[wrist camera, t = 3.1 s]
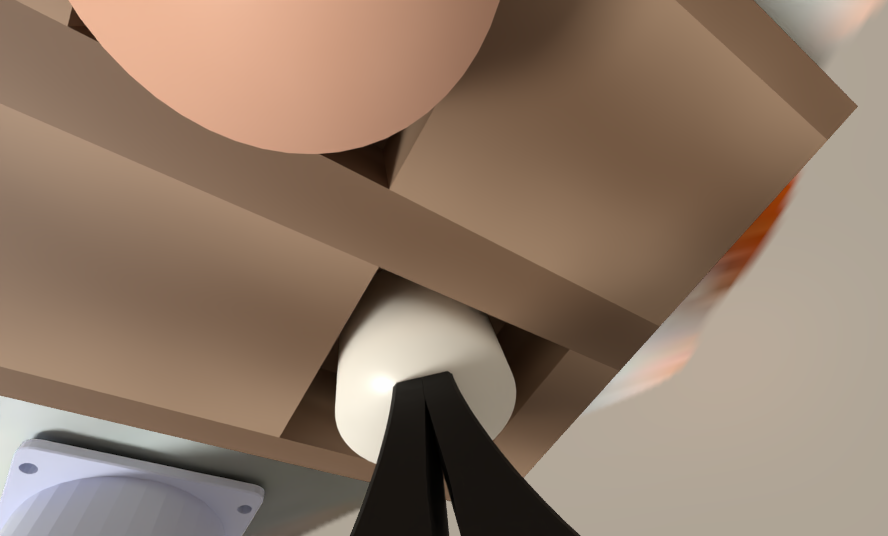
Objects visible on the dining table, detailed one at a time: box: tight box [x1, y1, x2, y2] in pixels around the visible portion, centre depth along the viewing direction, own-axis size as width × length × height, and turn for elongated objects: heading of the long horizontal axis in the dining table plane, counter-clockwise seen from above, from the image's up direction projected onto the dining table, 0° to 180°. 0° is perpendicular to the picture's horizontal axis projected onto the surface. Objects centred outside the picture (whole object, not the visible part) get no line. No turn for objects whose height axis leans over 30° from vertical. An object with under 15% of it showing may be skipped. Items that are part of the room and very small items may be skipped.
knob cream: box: [335, 269, 516, 464], centre depth 12 cm, size 4×4×3 cm
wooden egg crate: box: [0, 0, 858, 501], centre depth 11 cm, size 14×15×4 cm
